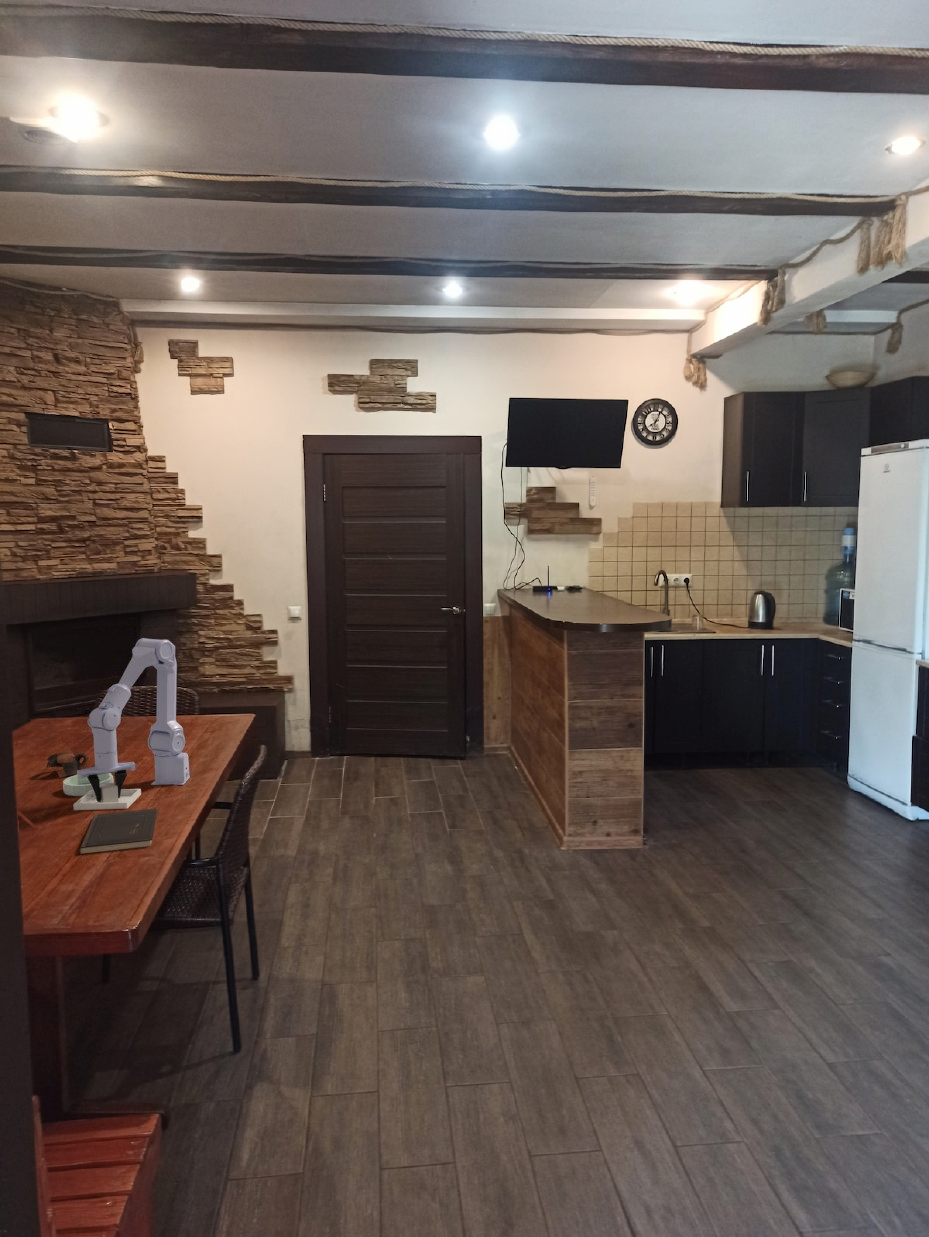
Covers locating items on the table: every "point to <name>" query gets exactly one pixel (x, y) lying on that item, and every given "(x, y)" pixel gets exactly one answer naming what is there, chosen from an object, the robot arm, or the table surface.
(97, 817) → the hardcover book
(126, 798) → the tray
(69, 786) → the bowl
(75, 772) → the pottery mug
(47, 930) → the table surface
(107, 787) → the block
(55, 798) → the table surface
